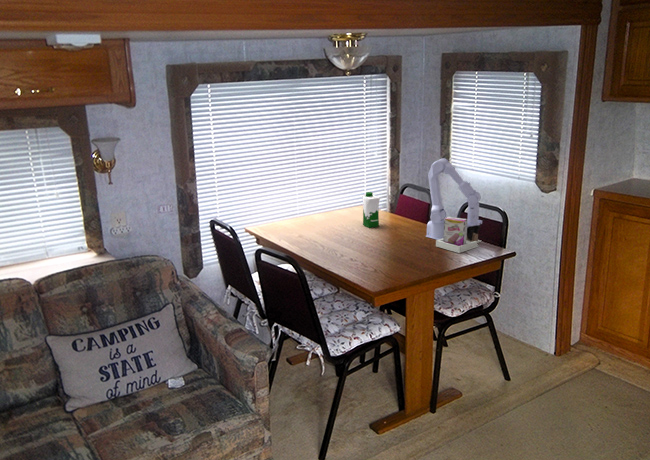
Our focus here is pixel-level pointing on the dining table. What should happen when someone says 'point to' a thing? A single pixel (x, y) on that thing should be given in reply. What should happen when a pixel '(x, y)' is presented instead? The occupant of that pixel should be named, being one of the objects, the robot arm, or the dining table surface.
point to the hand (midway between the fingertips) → (471, 238)
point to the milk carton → (370, 210)
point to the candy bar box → (455, 231)
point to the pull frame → (469, 245)
